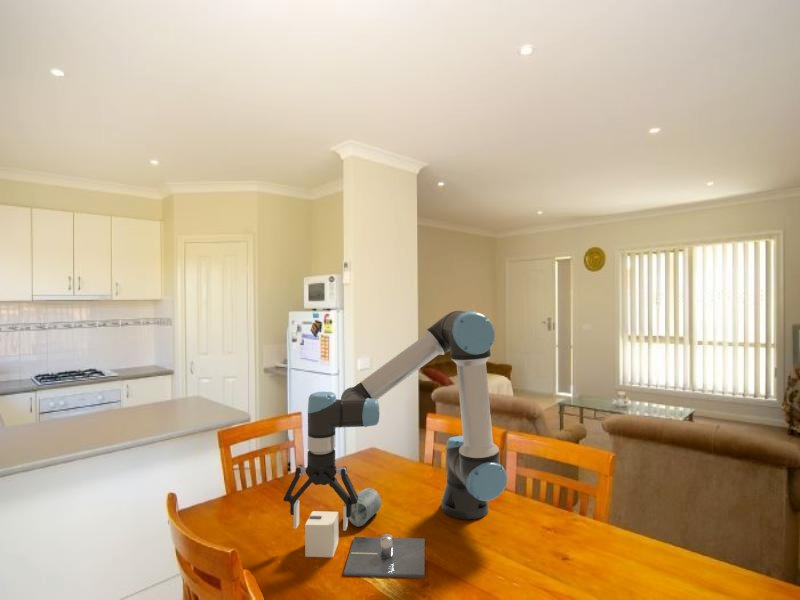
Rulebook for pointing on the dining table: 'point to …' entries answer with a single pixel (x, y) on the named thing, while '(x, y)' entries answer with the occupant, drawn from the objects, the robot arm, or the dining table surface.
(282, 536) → the dining table surface
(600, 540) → the dining table surface
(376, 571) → the gray board
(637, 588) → the dining table surface
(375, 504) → the spool
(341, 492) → the robot arm
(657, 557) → the dining table surface
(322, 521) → the white drawer box
